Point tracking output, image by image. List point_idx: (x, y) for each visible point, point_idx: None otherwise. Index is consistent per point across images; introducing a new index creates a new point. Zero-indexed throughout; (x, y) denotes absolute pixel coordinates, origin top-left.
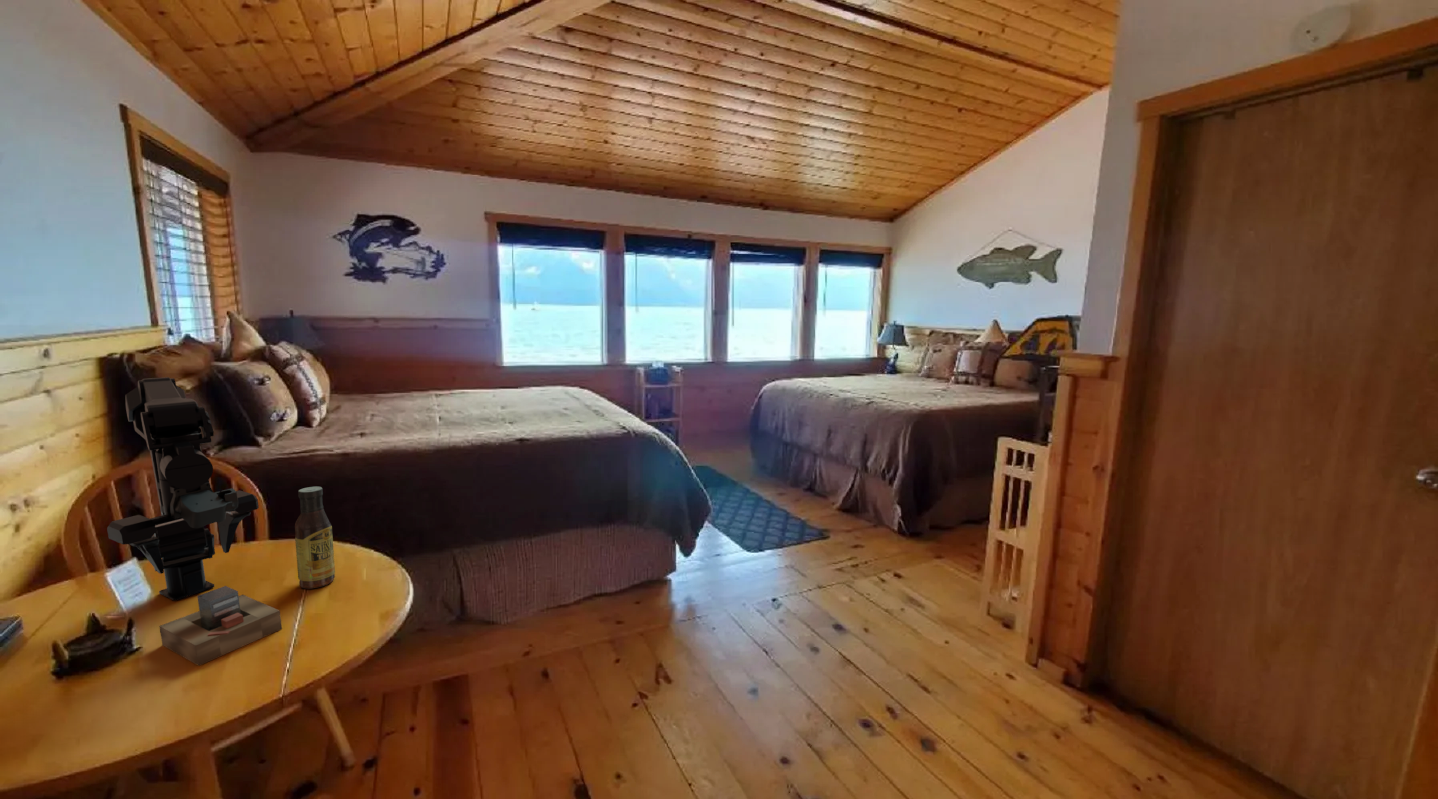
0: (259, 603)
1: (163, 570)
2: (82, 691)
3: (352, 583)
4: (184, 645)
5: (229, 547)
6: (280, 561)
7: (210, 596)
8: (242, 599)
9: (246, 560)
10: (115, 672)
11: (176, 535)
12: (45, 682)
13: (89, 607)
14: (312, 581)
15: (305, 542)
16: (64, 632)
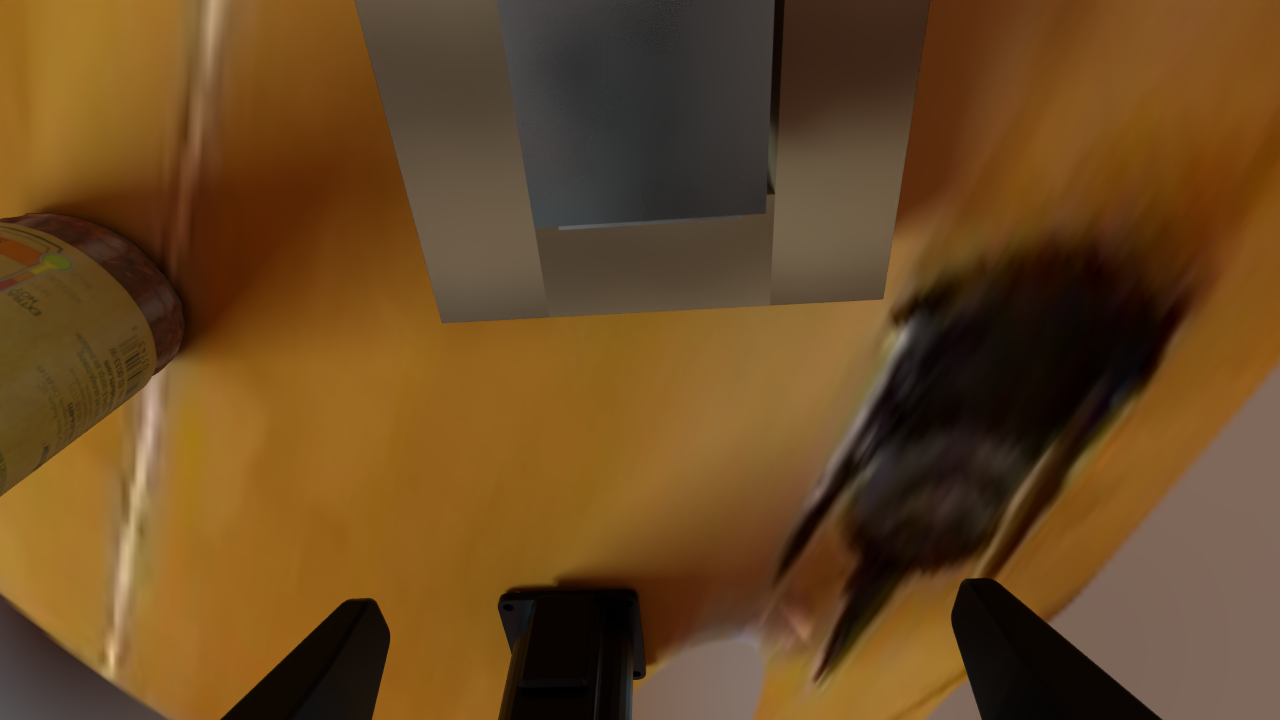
0: (388, 73)
1: (982, 600)
2: (1275, 70)
3: None
4: None
5: (307, 644)
6: (251, 619)
7: (708, 85)
8: (460, 252)
9: None
10: (1094, 146)
11: None
12: (1218, 319)
13: (801, 715)
14: (78, 249)
15: None
16: (926, 627)
